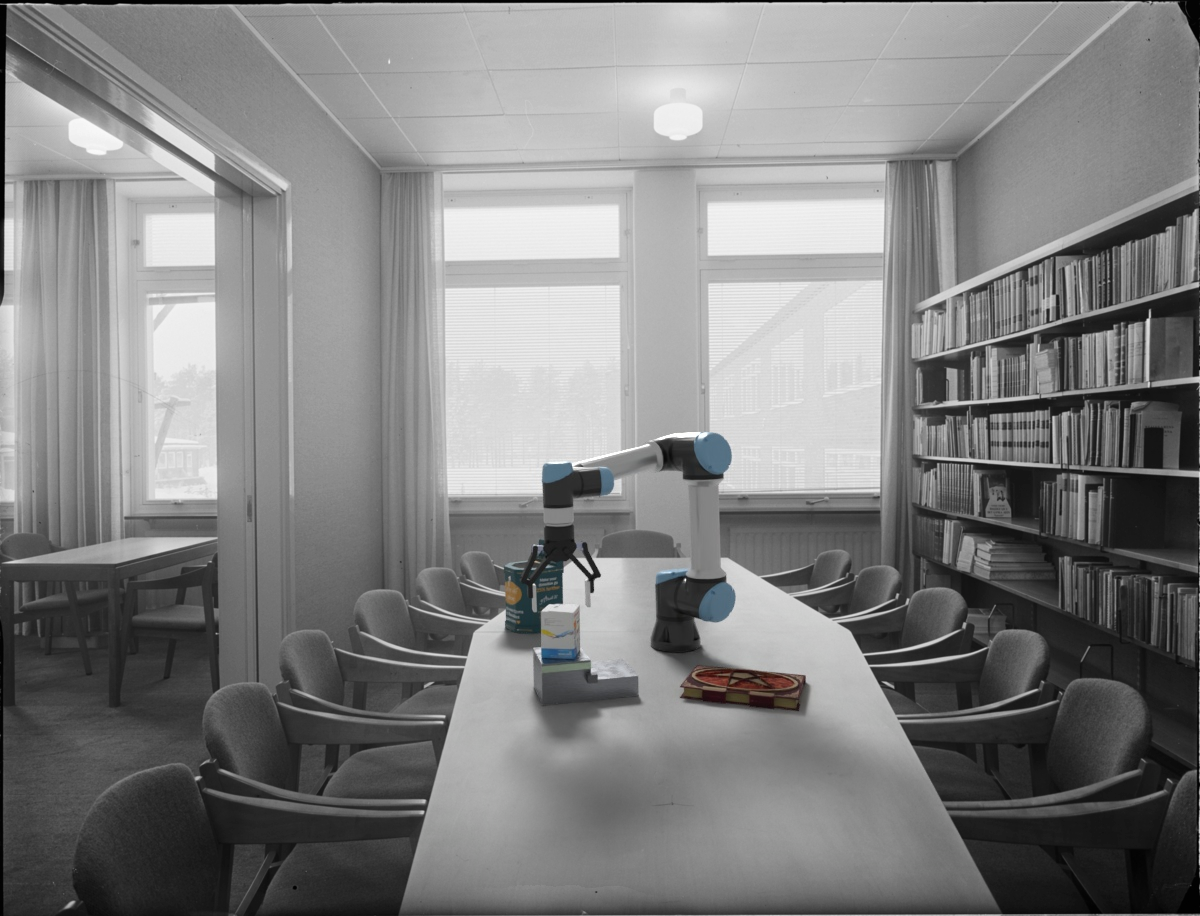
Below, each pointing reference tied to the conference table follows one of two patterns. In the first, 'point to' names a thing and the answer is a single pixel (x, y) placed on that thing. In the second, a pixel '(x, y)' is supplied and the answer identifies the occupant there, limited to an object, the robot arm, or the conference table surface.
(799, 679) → the book
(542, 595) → the donation box
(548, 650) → the ink box
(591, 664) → the stepped stand
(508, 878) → the conference table surface
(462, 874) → the conference table surface
